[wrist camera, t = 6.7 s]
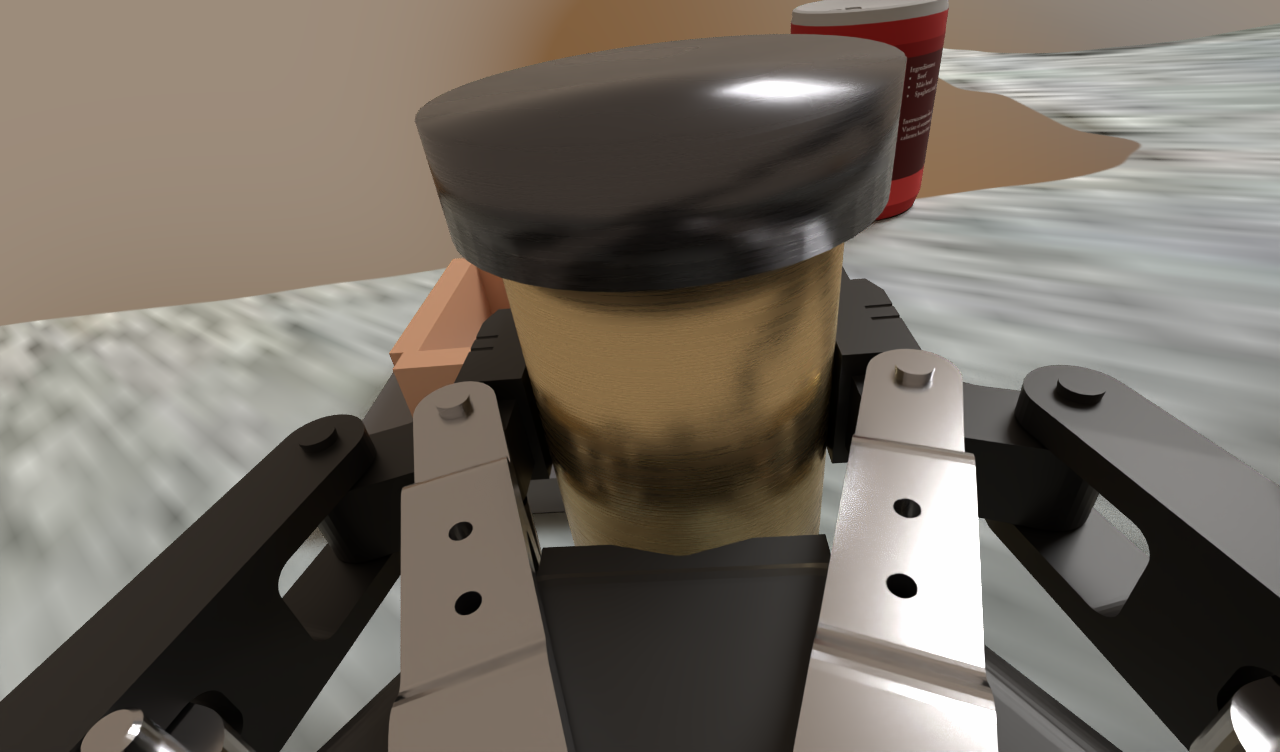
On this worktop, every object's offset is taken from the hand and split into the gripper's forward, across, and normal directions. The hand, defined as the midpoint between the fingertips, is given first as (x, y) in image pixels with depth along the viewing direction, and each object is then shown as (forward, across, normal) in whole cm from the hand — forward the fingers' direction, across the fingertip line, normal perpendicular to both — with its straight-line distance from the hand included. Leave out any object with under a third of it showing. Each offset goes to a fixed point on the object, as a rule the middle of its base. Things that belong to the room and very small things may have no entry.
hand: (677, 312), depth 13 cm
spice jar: (-3, 0, +7) cm, 7 cm away
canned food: (+27, -11, +8) cm, 30 cm away
